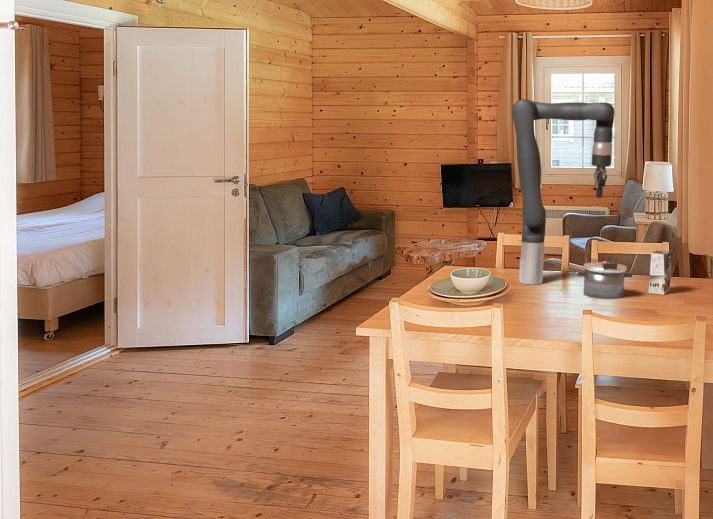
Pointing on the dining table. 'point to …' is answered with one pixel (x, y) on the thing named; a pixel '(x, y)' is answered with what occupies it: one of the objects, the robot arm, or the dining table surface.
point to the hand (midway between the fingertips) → (598, 197)
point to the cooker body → (603, 284)
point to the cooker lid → (605, 267)
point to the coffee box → (660, 272)
